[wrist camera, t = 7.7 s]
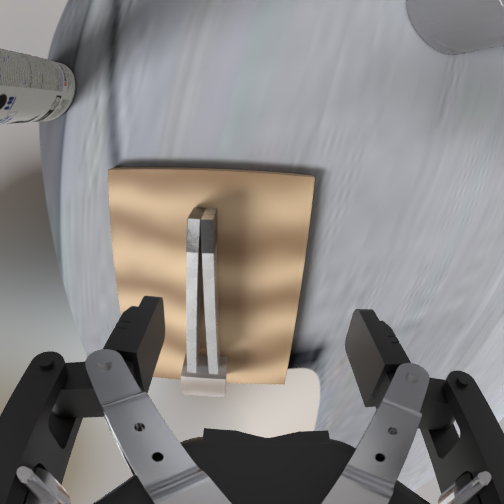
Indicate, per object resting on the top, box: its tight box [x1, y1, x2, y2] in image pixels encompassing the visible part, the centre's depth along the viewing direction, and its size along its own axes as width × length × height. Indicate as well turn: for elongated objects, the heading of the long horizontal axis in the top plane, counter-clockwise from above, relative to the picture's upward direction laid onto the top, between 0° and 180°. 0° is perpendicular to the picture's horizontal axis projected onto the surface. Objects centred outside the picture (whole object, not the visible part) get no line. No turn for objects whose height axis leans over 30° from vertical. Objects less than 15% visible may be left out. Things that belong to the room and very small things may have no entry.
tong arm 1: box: [186, 207, 206, 373], centre depth 31 cm, size 17×1×4 cm, turn 174°
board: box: [108, 167, 315, 397], centre depth 32 cm, size 26×20×6 cm
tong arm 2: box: [200, 208, 220, 374], centre depth 31 cm, size 17×1×4 cm, turn 179°
